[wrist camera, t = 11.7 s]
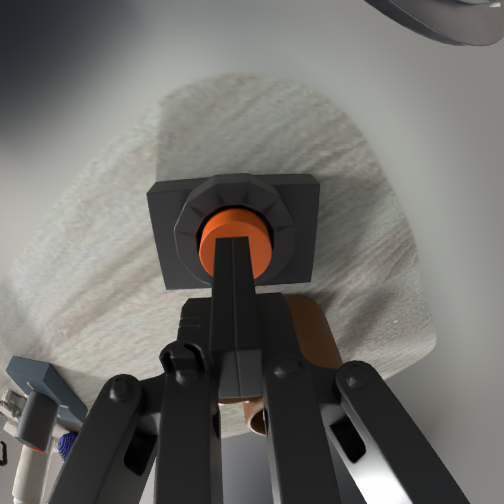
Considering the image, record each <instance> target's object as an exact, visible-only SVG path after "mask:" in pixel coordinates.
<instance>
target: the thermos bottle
mask: <svg viewBox="0 0 504 504" xmlns="http://www.w3.org/2000/svg"><path fill="white" fill-rule="evenodd" d="M54 444H55V439H54V438H52V437H51V440H50V444H49V447H48V451H47V454H46V455H44V454H42V453H39V452H37V451H35V450H33V449H31V448H29V447H27V446H26V445H23V449H22V453H21V458H20V462H19V465H18V469H17V473H16V478H15V483H14V488H13V493H12V495H13V496H14V497H15V498H14V504H42V502H43V496H44V490H45V484H46V478H47V474H48V468H49V464H50V460H51V456H52V452H53V448H54Z"/></svg>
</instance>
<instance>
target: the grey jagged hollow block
mask: <svg viewBox="0 0 504 504" xmlns="http://www.w3.org/2000/svg"><path fill="white" fill-rule="evenodd" d="M2 400H3V401H0V406H4V407H5V408H6V409H7V410H8V411H9V412H11V415H12V416H13V417H17V418H18V421H20V419H21V416H22V413H23V410H24V407H25V405H26V402H27V400H26V399H24V398H22V397H21V398H20V397H18V396H16V395H15V394H14V393H13V392H12V391H10V390H5V392H4V394H3V396H2Z"/></svg>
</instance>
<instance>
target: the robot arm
mask: <svg viewBox="0 0 504 504" xmlns="http://www.w3.org/2000/svg"><path fill="white" fill-rule="evenodd" d="M450 1H453V2H456V3H459V4H463V5H480V4H486V3H489V2H490V7H500V0H450ZM159 359H160V361H161V364H162V366H163V368H164V371H165V372H164V373H163V374H161V375H159V376H156V377H153V378H149V379H145V380H141V381H138V379H137V378H135V377H133V376H132V375H128V374H120V375H116V376H114V377H112V378H110V379H109V380H108V381H107V382H106V383H105V385H104V386H103V388H102V390H101V392H100V393H99V395H98V397H97V399H96V401H95V403H94V404H93V406H92V408H91V410H90V412H89V414H88V416H87V418H86V420H85V421H84V423H83V425H82V427H81V429H80V431H79V433H78V435H77V437H76V439H75V441H74V443H73V445H72V447H71V449H70V451H69V453H68V455H67V457H66V460H65V462H64V464H63V466H62V468H61V470H60V473H59V475H58V477H57V479H56V481H55V484H54V486H53V488H52V490H51V493H50V495H49V497H48V500H47V502H46V504H139V502H140V499H141V496H142V493H143V491H144V488H145V485H146V482H147V479H148V477H149V474H150V471H151V469H152V466H153V463H154V461H155V458H156V468H155V482H154V500H153V504H223V485H222V460H221V421H220V410H219V399H220V398H243V397H258V396H263V420H264V421H265V430H266V438H267V446H268V456H269V465H270V473H271V481H272V490H273V499H274V504H341V499H340V495H339V490H338V485H337V480H336V476H335V471H334V467H333V463H332V458H331V454H330V449H329V445H328V441H327V437H326V433H325V429H326V431H327V433H328V434H329V436H330V438H331V440H332V442H333V443H334V445H335V447H336V449H337V451H338V452H339V454H340V456H341V458H342V459H343V461H344V463H345V465H346V467H347V468H348V470H349V471H350V474H351V475H352V477H353V479H354V481H355V482H356V484H357V486H358V488H359V489H360V491H361V493H362V494H363V496H364V498H365V500H366V501H367V503H368V504H470V502H469V501H468V500H467V498H466V497H465V495H464V493H463V492H462V490H461V489H460V487H459V486H458V484H457V483H456V481H455V480H454V479H453V477H452V475H451V474H450V473H449V471H448V470H447V468H446V467H445V465H444V464H443V462H442V461H441V459H440V458H439V457H438V455H437V454H436V452H435V451H434V449H433V448H432V447H431V445H430V444H429V442H428V441H427V439H426V438H425V437H424V435H423V434H422V432H421V431H420V430H419V428H418V427H417V426H416V424H415V423H414V421H413V420H412V418H411V417H410V416H409V414H408V413H407V412H406V410H405V409H404V408H403V406H402V405H401V403H400V402H399V401H398V399H397V398H396V396H395V395H394V394H393V392H392V391H391V390H390V388H389V387H388V386H387V384H386V383H385V382H384V380H383V379H382V378H381V376H380V375H379V374H378V372H377V371H376V370H375V369H374V368H373V367H372V366H371V365H370V364H368V363H365V362H363V361H356V360H354V361H349V362H346V363H345V364H343V365H341V366H340V368H339V369H334V368H326V367H320V366H317V365H314V364H312V363H310V362H309V361H308V360H306V358H305V357H304V356H303V355H302V352H301V350H300V346H299V342H298V338H297V334H296V330H295V326H294V322H293V318H292V315H291V312H290V307H289V303H288V300H287V299H286V298H285V297H284V296H283V295H282V294H281V293H280V292H277V293H263V294H256V291H255V283H254V276H253V268H252V261H251V253H250V246H249V238H248V236H241V237H223V238H216V241H215V253H214V267H213V281H212V296H211V297H208V298H189V299H188V300H187V301H186V303H185V304H184V306H183V307H182V311H181V317H180V323H179V329H178V335H177V341H174V342H172V343H170V344H168V345H167V346H166V347H165V348H164V349H163V350H162V351H161V353H160V356H159ZM324 427H325V428H324Z"/></svg>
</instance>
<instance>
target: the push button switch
mask: <svg viewBox="0 0 504 504" xmlns="http://www.w3.org/2000/svg"><path fill="white" fill-rule="evenodd" d="M319 191H320V184H319V183H318V182H317V181H316V180H315V179H314V177H313V176H312V175H311V174H275V175H251V174H247V173H242V174H224V175H215V176H213V177H211V178H197V179H185V180H174V181H164V182H156V183H155V184H154V185H153V186H152V187H151V189H150V190H149V191H148V192H147V194H146V195H147V201H148V206H149V212H150V217H151V223H152V228H153V233H154V238H155V243H156V247H157V252H158V257H159V261H160V266H161V270H162V274H163V278H164V282H165V286H166V290H184V289H208V288H212V281H213V276H211V275H210V274H209V273H208V272H207V271H206V270H205V268H204V267H203V265H202V263H201V260H200V254H199V251H200V244H201V238H202V233H203V229H204V227H205V225H206V223H207V222H208V220H209V219H210V218H211V217H212V216H213V215H215V214H216V213H218V212H220V211H222V210H225V209H230V208H241V209H246V210H248V211H251V212H253V213H255V214H256V215H257V216H259V217H260V218H261V219H262V221H263V222H264V224H265V226H266V228H267V231H268V235H269V239H270V243H271V247H272V256H271V260H270V263H269V265H268V267H267V268H266V270H265V271H264V272H263V273H262V274H261V275H259V276H258V277H257V278H255V279H254V283H255V287H256V286H263V285H278V284H292V283H305V282H311V277H312V268H313V259H314V250H315V240H316V229H317V218H318V205H319Z"/></svg>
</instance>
